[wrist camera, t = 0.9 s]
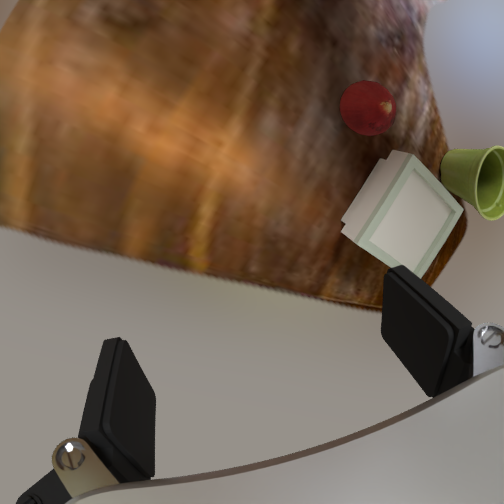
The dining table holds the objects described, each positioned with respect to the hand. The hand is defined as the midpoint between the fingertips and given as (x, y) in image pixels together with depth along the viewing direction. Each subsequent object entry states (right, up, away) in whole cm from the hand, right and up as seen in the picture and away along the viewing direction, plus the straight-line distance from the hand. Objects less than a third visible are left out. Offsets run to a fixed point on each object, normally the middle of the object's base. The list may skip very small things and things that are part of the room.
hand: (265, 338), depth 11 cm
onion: (+11, +19, +22) cm, 31 cm away
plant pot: (+28, +15, +27) cm, 41 cm away
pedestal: (+16, +8, +27) cm, 33 cm away
